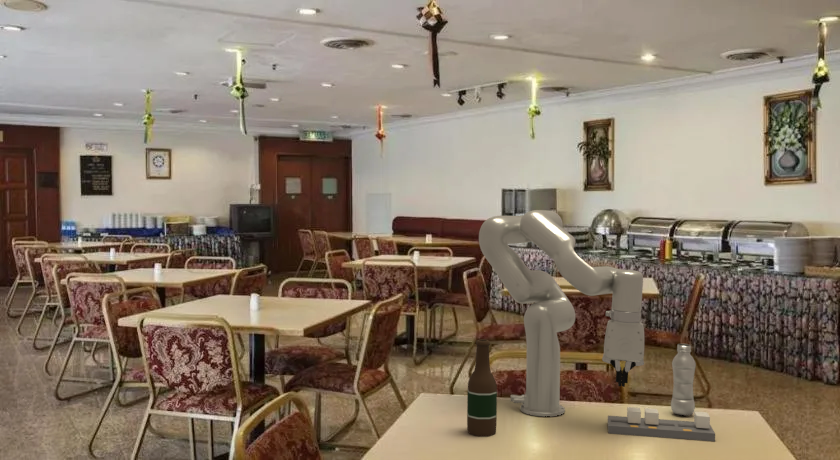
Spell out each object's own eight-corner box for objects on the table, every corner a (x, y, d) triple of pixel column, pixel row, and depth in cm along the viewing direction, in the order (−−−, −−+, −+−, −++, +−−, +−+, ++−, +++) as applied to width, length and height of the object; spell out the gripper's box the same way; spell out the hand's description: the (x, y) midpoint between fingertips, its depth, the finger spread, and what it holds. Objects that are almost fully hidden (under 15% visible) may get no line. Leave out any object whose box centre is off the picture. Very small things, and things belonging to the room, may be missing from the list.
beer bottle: (499, 429, 194) (501, 338, 193) (492, 438, 187) (494, 343, 186) (470, 426, 196) (472, 336, 196) (462, 435, 189) (464, 341, 189)
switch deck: (608, 433, 192) (608, 425, 192) (607, 422, 202) (607, 415, 202) (715, 441, 186) (715, 433, 186) (708, 430, 196) (709, 422, 196)
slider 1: (627, 422, 194) (628, 411, 194) (627, 418, 198) (627, 406, 198) (640, 423, 193) (640, 412, 193) (639, 419, 197) (639, 407, 197)
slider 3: (696, 427, 190) (696, 416, 190) (694, 422, 194) (694, 411, 194) (709, 428, 189) (709, 416, 189) (707, 423, 193) (707, 412, 193)
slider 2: (645, 423, 193) (645, 412, 193) (644, 419, 197) (644, 408, 197) (658, 424, 192) (658, 413, 192) (657, 420, 196) (657, 408, 196)
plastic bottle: (691, 412, 214) (692, 343, 213) (697, 418, 207) (699, 347, 207) (668, 411, 214) (669, 342, 214) (673, 417, 208) (675, 346, 207)
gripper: (596, 316, 193) (592, 385, 195) (656, 321, 190) (651, 392, 191) (596, 312, 201) (592, 379, 202) (654, 317, 197) (649, 384, 198)
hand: (621, 385), depth 197 cm, fingers closed
